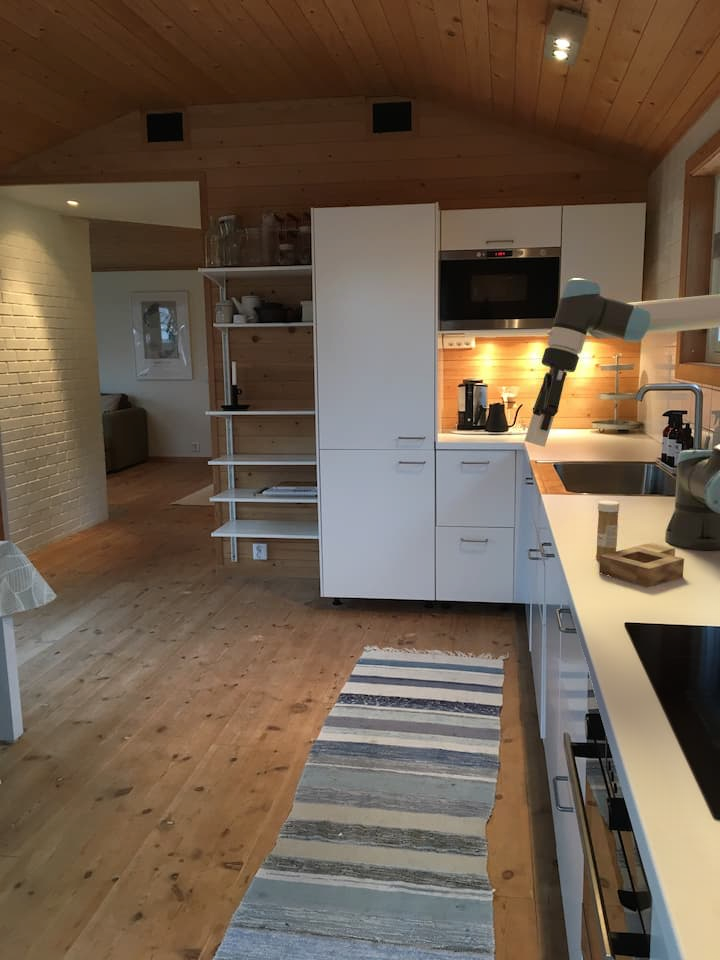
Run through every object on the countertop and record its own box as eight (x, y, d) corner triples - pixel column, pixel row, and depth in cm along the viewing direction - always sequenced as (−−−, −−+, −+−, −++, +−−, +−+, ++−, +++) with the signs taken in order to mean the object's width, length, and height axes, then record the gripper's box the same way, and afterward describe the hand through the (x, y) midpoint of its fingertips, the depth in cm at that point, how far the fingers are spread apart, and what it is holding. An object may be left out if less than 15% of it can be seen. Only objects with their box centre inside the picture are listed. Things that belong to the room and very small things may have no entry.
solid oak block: (650, 559, 174) (651, 542, 174) (674, 565, 169) (675, 547, 169) (634, 563, 171) (635, 546, 170) (657, 570, 166) (658, 552, 165)
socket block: (634, 563, 171) (635, 546, 170) (682, 576, 161) (684, 558, 160) (599, 573, 164) (600, 555, 163) (647, 587, 154) (648, 568, 154)
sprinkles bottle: (592, 557, 177) (594, 500, 174) (611, 556, 177) (614, 499, 175) (600, 562, 172) (603, 504, 170) (620, 561, 173) (622, 503, 170)
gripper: (538, 350, 180) (511, 437, 182) (555, 340, 155) (524, 441, 158) (569, 359, 179) (542, 446, 182) (591, 350, 155) (559, 451, 157)
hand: (534, 444), depth 170 cm, fingers open, 13 cm apart
